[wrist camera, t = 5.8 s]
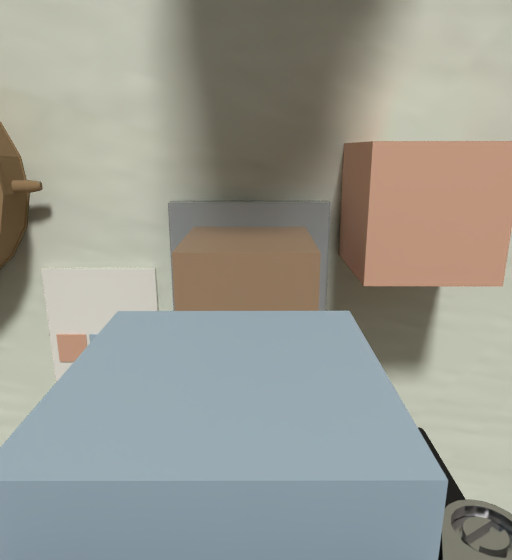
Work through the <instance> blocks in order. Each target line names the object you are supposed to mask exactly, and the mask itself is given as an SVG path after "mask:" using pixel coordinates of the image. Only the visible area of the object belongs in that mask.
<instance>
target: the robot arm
mask: <svg viewBox="0 0 512 560" xmlns="http://www.w3.org/2000/svg"><path fill="white" fill-rule="evenodd" d="M418 429H419V431H420V433H421V434H422V436H423V438H424V440H425V441H426V443H427V445H428V446H429V448H430V450H431V452H432V453H433V455H434V457H435V458H436V460H437V462H438V464H439V465H440V467H441V469H442V470H443V472H444V474H445V476H446V477H447V479H448V487H447V494H446V502H445V510H444V518H443V525H442V533H441V541H440V549H439V556H438V560H512V514H511V513H509V512H508V511H506V510H504V509H502V508H500V507H498V506H496V505H493V504H490V503H487V502H484V501H478V500H470V499H468V500H466V499H465V498H464V496H463V494H462V493H461V491H460V489H459V488H458V486H457V484H456V483H455V481H454V479H453V478H452V476H451V474H450V473H449V471H448V469H447V468H446V466H445V464H444V463H443V461H442V459H441V458H440V456H439V454H438V453H437V451H436V449H435V448H434V446H433V444H432V443H431V441H430V439H429V438H428V436H427V434H426V433H425V431H424V430H423V429H422V428H418Z"/></svg>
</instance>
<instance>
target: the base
mask: <svg viewBox="0 0 512 560" xmlns="http://www.w3.org/2000/svg"><path fill="white" fill-rule="evenodd" d="M168 211H169V229H170V248H171V267H172V286H173V305H174V311H326V296H327V271H328V247H329V222H330V202H329V201H170V202H169V203H168Z"/></svg>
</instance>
